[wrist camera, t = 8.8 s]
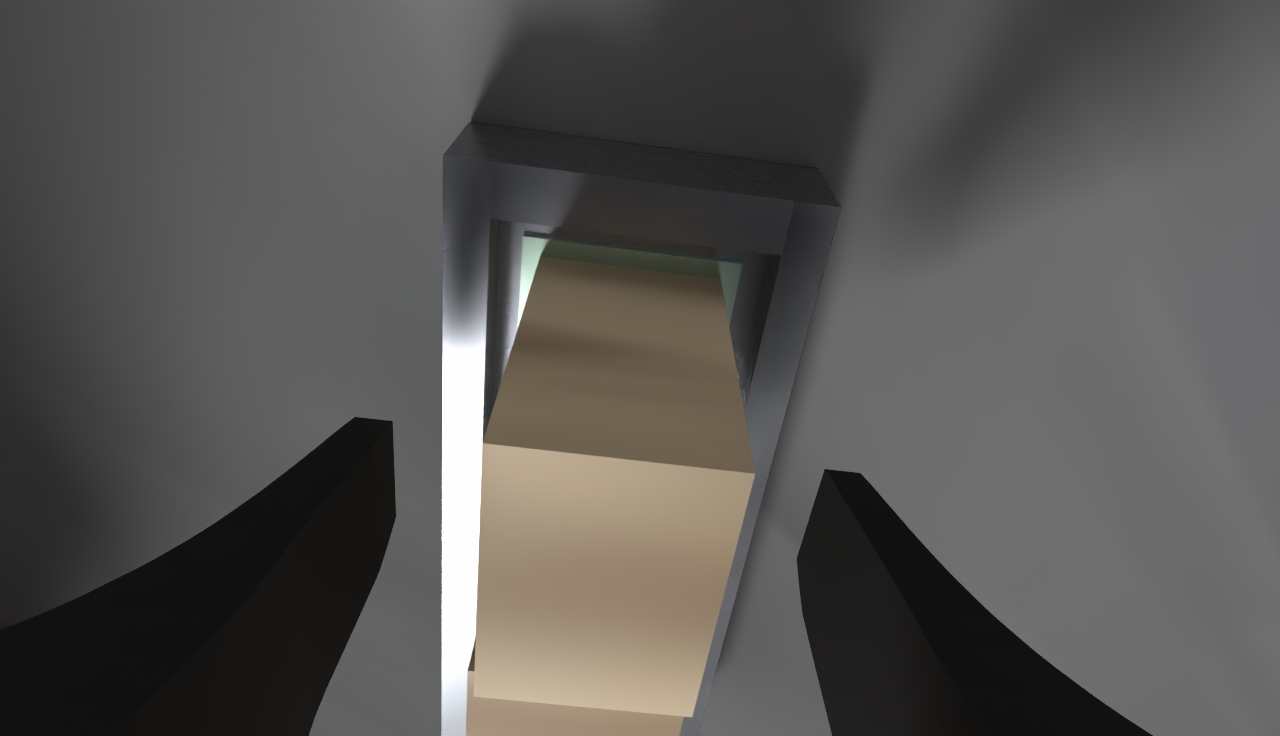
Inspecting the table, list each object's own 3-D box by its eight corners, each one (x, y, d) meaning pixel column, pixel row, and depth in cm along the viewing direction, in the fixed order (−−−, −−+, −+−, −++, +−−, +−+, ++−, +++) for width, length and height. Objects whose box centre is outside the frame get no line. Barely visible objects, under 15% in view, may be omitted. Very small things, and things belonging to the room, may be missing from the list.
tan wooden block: (678, 494, 18) (687, 732, 13) (524, 477, 18) (473, 712, 13) (720, 279, 15) (755, 474, 10) (539, 256, 15) (482, 443, 10)
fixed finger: (662, 691, 22) (663, 798, 19) (486, 674, 22) (464, 780, 19) (687, 576, 20) (692, 680, 17) (492, 556, 19) (467, 658, 17)
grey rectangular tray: (686, 697, 24) (689, 768, 22) (458, 676, 23) (441, 746, 21) (817, 168, 15) (840, 206, 13) (469, 122, 15) (443, 154, 13)
